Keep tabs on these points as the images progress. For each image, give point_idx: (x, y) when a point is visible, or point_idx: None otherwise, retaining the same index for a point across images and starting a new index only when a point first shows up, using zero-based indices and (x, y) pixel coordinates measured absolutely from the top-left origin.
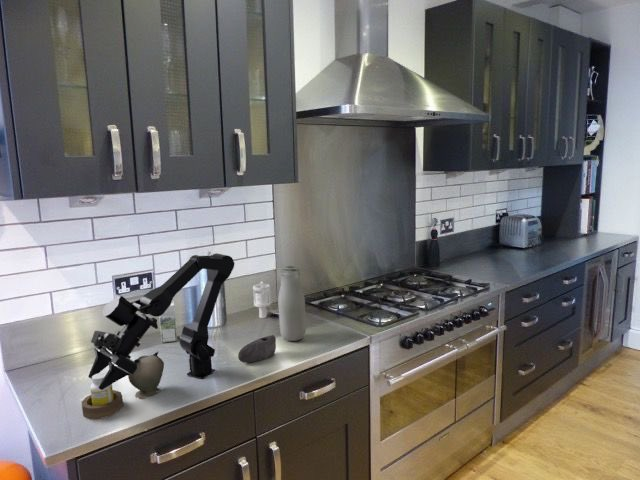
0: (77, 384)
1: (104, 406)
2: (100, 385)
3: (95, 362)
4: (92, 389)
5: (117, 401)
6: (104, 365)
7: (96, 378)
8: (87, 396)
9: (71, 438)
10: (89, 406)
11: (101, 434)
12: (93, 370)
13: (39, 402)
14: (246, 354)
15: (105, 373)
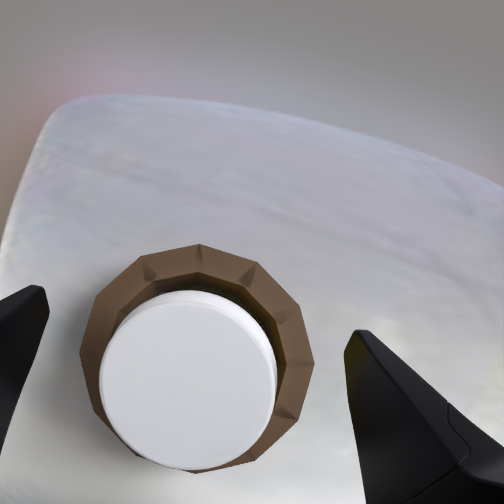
0: (496, 348)
1: (88, 324)
2: (16, 294)
3: (438, 431)
4: (170, 292)
5: (92, 404)
6: (378, 500)
7: (136, 326)
8: (300, 315)
9: (75, 161)
10: (158, 268)
11: (7, 245)
12: (379, 385)
13: (450, 200)
14: None
15: (192, 456)
